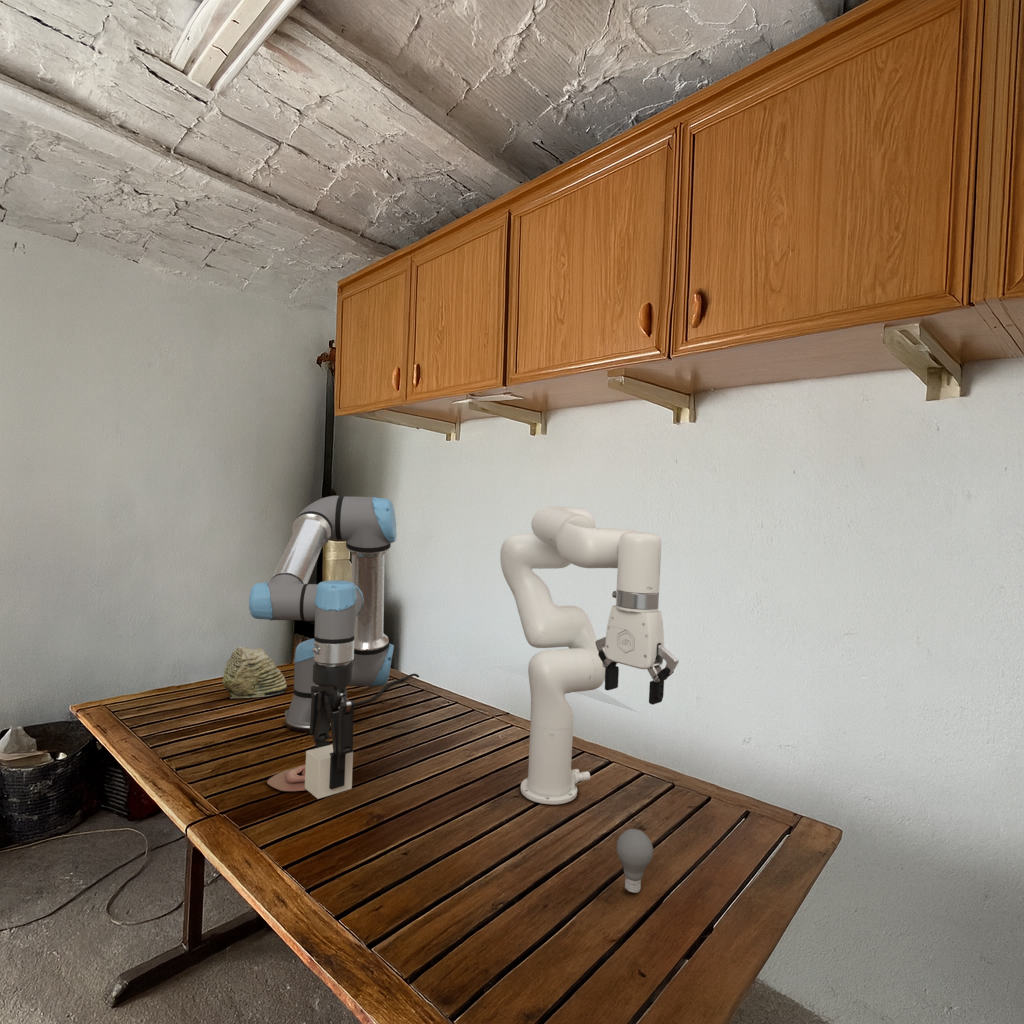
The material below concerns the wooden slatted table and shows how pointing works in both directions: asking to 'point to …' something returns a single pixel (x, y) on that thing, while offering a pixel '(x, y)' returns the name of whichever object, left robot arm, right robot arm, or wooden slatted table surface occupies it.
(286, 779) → the anatomical model
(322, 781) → the brick
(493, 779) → the wooden slatted table surface
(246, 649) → the fossil
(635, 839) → the light bulb
